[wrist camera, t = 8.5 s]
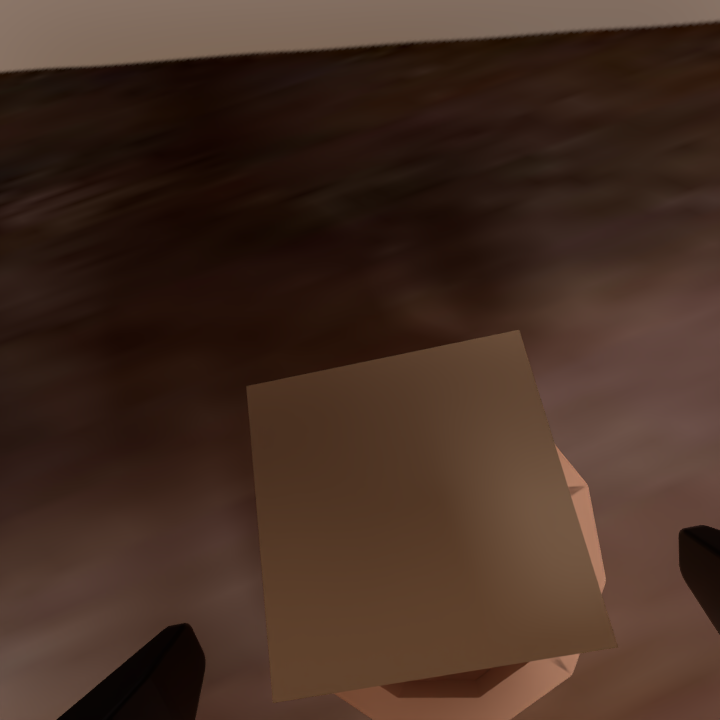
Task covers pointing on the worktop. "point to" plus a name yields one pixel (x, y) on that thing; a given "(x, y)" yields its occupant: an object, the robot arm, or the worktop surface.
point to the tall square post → (416, 522)
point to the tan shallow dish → (492, 685)
